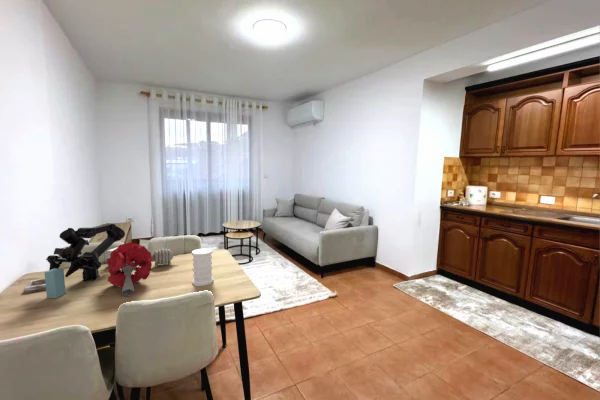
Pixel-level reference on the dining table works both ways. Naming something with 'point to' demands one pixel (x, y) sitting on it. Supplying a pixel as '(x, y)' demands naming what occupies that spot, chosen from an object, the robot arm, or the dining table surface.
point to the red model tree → (128, 266)
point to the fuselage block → (55, 283)
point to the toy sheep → (162, 256)
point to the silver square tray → (35, 286)
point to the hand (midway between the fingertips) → (57, 276)
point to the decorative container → (202, 267)
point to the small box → (109, 253)
